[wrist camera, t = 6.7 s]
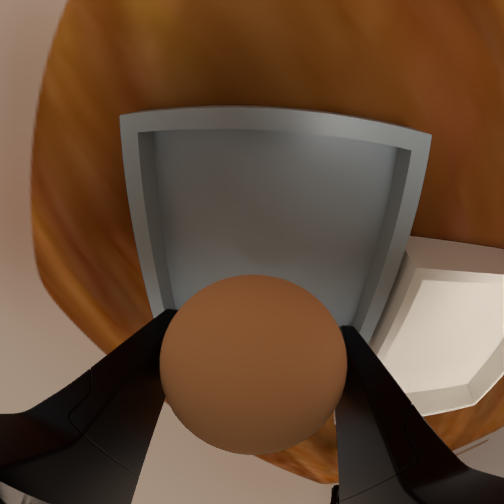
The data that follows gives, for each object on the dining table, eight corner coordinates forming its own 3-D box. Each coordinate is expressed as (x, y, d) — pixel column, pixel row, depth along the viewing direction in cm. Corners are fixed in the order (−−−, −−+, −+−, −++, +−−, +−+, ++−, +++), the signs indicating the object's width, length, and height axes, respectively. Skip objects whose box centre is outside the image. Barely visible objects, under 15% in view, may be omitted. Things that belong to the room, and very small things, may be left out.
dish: (466, 381, 20) (474, 405, 17) (332, 394, 21) (334, 424, 18) (546, 256, 12) (566, 279, 9) (395, 233, 13) (416, 267, 10)
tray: (357, 326, 16) (363, 353, 15) (169, 309, 17) (158, 334, 15) (409, 126, 10) (432, 134, 8) (144, 110, 11) (119, 115, 9)
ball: (321, 355, 10) (323, 475, 6) (196, 343, 11) (161, 455, 7) (352, 247, 8) (395, 405, 4) (181, 233, 8) (96, 371, 4)
